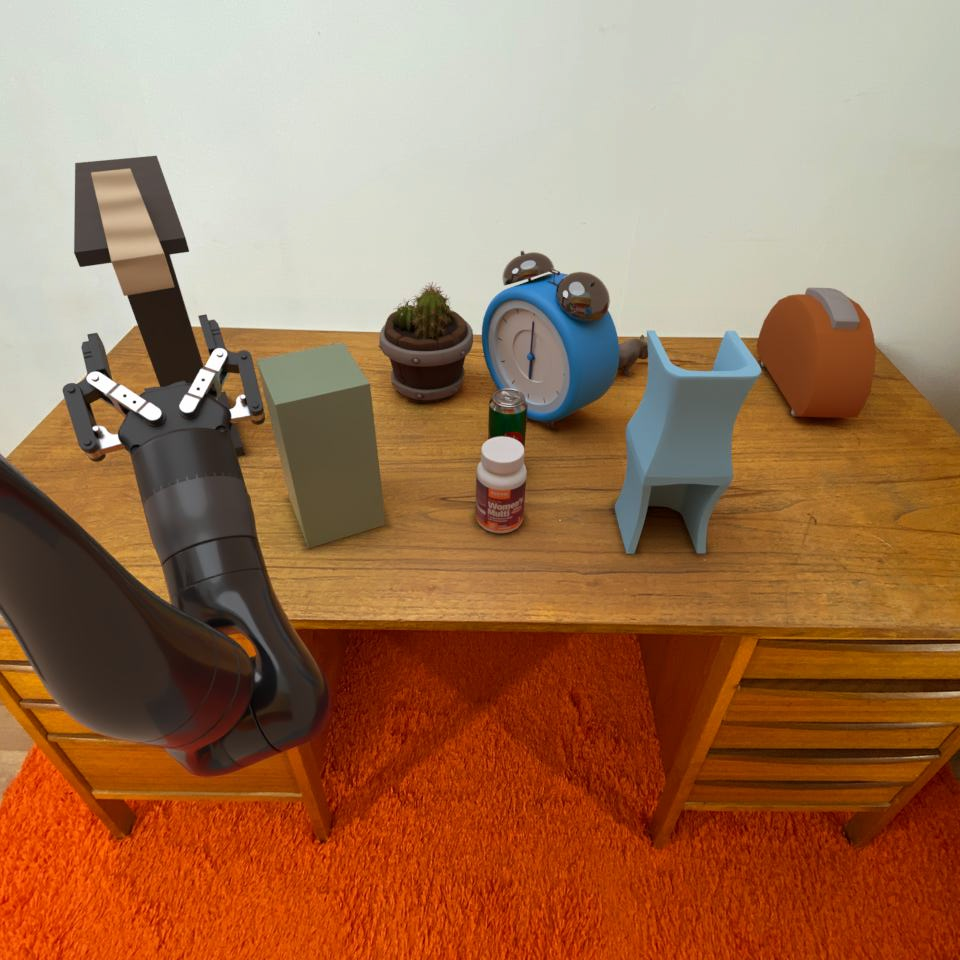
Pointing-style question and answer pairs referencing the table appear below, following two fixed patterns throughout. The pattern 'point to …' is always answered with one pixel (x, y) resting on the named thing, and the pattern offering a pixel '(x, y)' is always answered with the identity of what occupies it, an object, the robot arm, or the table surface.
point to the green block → (325, 440)
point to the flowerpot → (426, 348)
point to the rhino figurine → (632, 353)
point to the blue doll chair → (683, 438)
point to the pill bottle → (501, 485)
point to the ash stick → (130, 234)
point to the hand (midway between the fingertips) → (150, 329)
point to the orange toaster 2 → (819, 353)
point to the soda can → (508, 415)
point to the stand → (153, 310)
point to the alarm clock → (551, 338)
